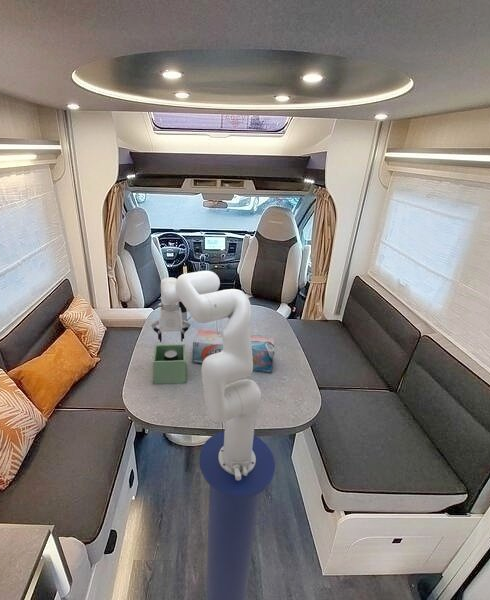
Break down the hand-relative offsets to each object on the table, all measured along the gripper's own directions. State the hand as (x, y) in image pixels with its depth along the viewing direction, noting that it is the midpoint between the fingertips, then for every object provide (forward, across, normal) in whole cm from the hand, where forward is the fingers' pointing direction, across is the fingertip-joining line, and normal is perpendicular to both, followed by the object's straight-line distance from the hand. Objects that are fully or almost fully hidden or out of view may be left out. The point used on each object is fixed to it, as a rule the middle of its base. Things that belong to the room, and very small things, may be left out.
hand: (171, 340), depth 142 cm
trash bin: (+20, -1, +2) cm, 20 cm away
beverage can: (+19, 0, 0) cm, 19 cm away
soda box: (+20, +31, +11) cm, 38 cm away
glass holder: (+20, +7, +53) cm, 57 cm away
